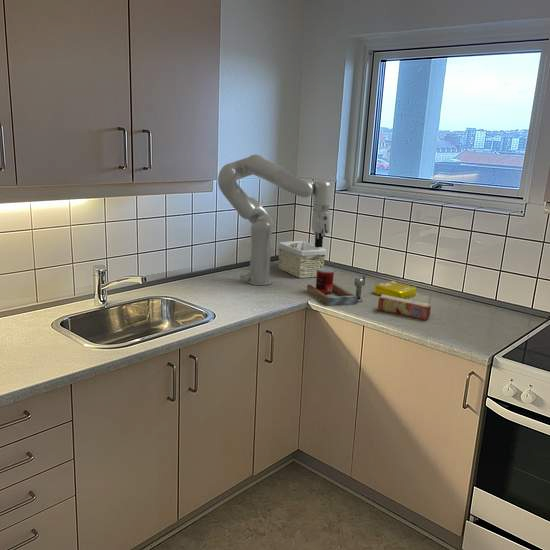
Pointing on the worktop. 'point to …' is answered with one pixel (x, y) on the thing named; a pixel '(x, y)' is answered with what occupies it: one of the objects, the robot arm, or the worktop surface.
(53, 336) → the worktop surface
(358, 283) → the grey metal upright piece
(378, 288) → the element tile
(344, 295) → the bay
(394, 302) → the snack package
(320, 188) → the robot arm
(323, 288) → the canned food
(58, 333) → the worktop surface
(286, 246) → the storage basket
